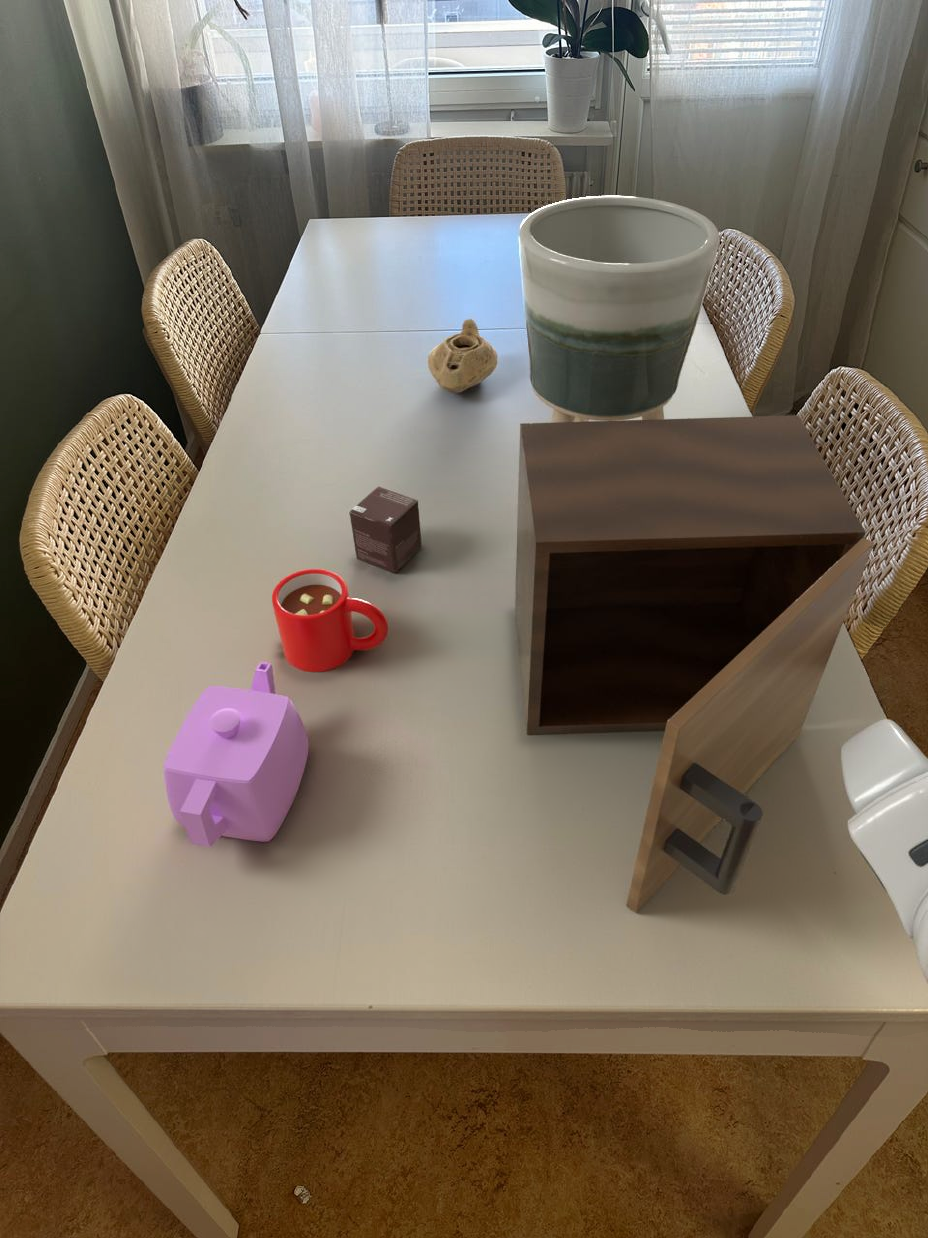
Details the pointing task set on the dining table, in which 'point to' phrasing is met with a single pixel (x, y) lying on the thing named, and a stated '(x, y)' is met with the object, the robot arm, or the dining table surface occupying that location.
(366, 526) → the box
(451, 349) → the oil lamp
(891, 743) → the robot arm
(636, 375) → the planter
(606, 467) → the cupboard
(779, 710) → the cupboard door
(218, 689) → the teapot
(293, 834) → the dining table surface
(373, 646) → the mug
